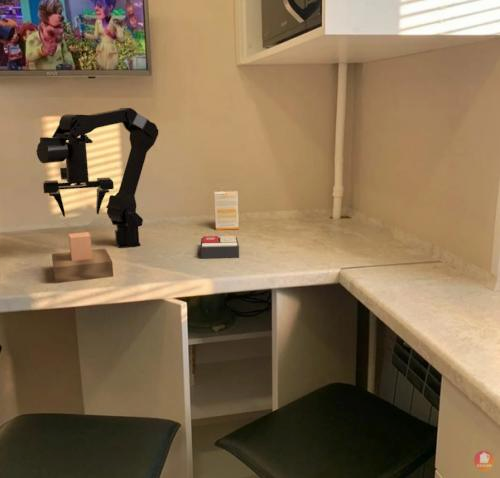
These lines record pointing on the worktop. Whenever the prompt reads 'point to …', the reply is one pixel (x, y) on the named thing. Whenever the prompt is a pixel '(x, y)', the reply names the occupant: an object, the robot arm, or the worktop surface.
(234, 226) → the supplement box
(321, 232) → the worktop surface
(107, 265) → the walnut base
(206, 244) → the red white black box
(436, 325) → the worktop surface
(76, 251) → the terracotta block
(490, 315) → the worktop surface
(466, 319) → the worktop surface
